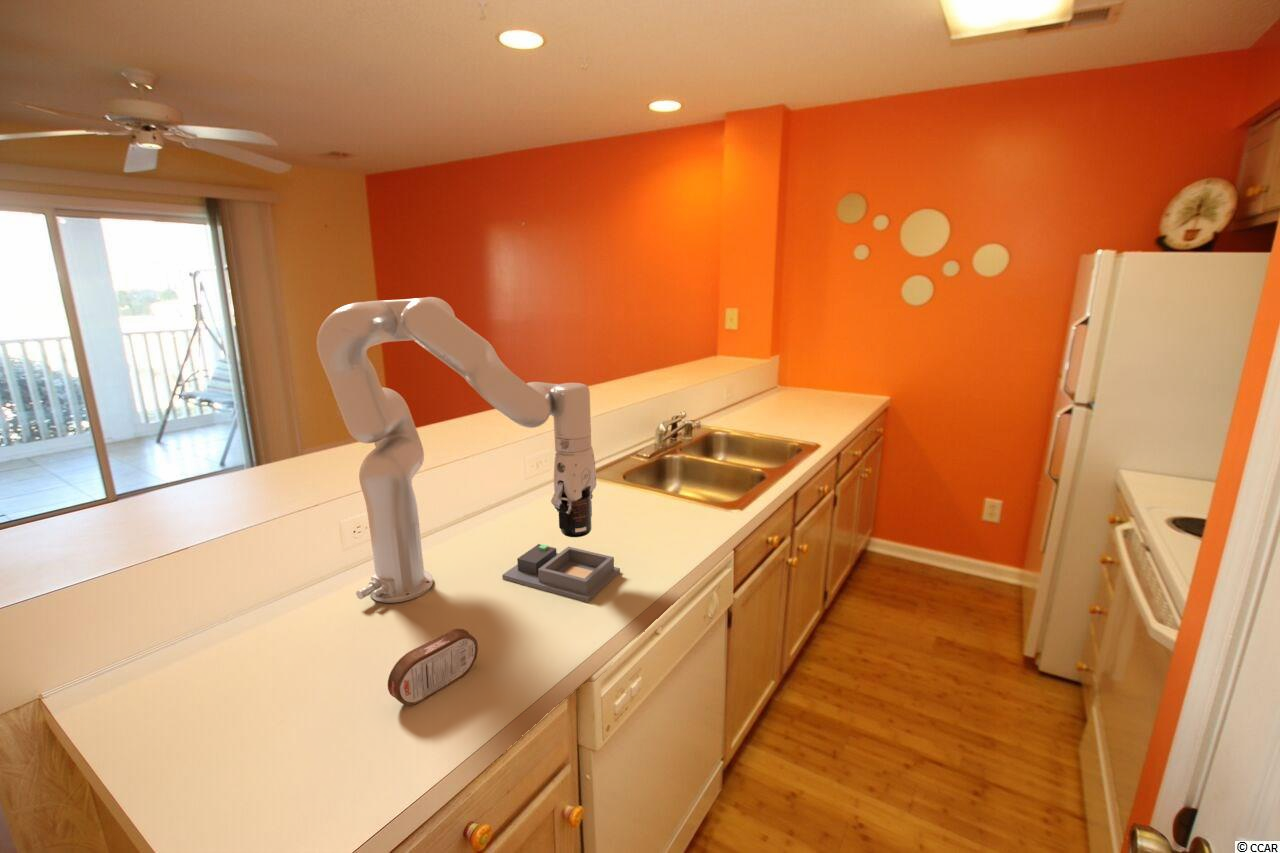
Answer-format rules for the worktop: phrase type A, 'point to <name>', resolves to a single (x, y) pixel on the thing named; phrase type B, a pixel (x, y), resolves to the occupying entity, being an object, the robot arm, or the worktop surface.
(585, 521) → the supplement container
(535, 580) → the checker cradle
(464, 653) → the tin
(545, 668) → the worktop surface
